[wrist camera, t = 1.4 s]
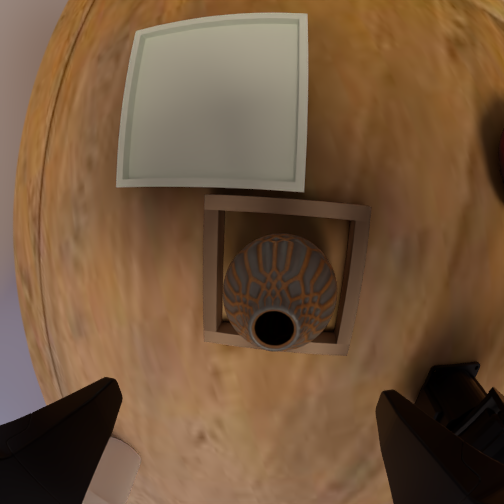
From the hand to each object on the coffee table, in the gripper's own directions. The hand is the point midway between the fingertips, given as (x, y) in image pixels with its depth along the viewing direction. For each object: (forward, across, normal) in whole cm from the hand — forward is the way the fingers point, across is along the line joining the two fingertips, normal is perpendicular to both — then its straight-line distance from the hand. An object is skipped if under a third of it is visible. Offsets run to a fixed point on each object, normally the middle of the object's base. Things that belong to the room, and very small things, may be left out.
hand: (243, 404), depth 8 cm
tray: (+14, +4, -13) cm, 20 cm away
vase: (+14, -2, 0) cm, 14 cm away
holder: (+13, -2, 0) cm, 13 cm away
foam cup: (+14, +20, +29) cm, 38 cm away
